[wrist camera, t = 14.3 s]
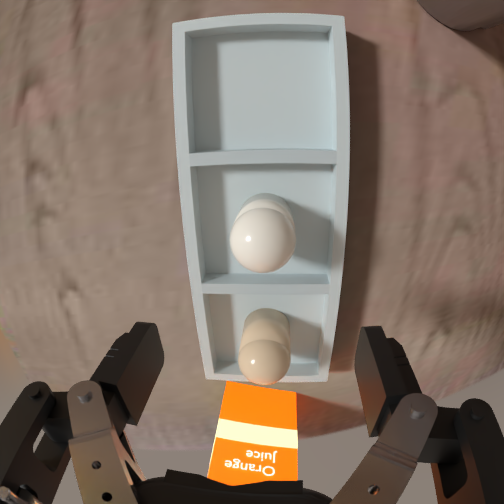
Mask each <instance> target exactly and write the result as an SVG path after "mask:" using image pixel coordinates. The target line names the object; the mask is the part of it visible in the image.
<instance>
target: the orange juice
mask: <svg viewBox="0 0 504 504" xmlns="http://www.w3.org/2000/svg"><path fill="white" fill-rule="evenodd" d="M297 449H298V438H297V414H296V392H289V391H282V390H275V389H269V388H263V387H257V386H251V385H245V384H240V383H235V382H230V381H227V383H226V388H225V393H224V397H223V402H222V407H221V411H220V416H219V421H218V426H217V431H216V436H215V440H214V445H213V450H212V455H211V460H210V466H209V471H208V476H207V478H210V479H212V480H215V481H218V482H221V483H224V484H227V485H232V486H234V485H243V484H249V483H256V482H262V481H268V480H273V481H297Z"/></svg>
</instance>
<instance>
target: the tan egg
mask: <svg viewBox="0 0 504 504" xmlns="http://www.w3.org/2000/svg"><path fill="white" fill-rule="evenodd" d="M290 363H291V347H290V324H289V321H288V319H287V317H286V316H285V315H284V314H283V313H281V312H280V311H278V310H275V309H271V308H261V309H257V310H255V311H253V312H251V313H250V314H249V315H248V316H247V317H246V319H245V321H244V325H243V331H242V337H241V343H240V349H239V354H238V364H239V368H240V370H241V372H242V374H243V375H244V376H245V377H246V378H247V379H248V380H249V381H251V382H253V383H255V384H259V385H269V384H273V383H276V382H278V381H279V380H281V379H282V378H283V377H284V376H285V375H286V373H287V372H288V370H289V367H290Z"/></svg>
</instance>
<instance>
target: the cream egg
mask: <svg viewBox="0 0 504 504" xmlns="http://www.w3.org/2000/svg"><path fill="white" fill-rule="evenodd" d="M230 247H231V251H232V253H233V255H234V257H235V259H236V260H237V261H238V262H239V263H240V264H241V265H242V266H243V267H244V268H246V269H248V270H250V271H253V272H257V273H269V272H273V271H276V270H278V269H280V268H282V267H283V266H284V265H285V264H286V263H287V262H288V261H289V260H290V259H291V257H292V255H293V253H294V250H295V247H296V232H295V226H294V220H293V215H292V211H291V208H290V207H289V205H288V204H287V202H286V201H285V200H284V199H282V198H281V197H279V196H277V195H275V194H271V193H259V194H256V195H253V196H251V197H250V198H248V199H247V200H246V201H245V202H244V203H243V205H242V206H241V208H240V211H239V213H238V215H237V217H236V219H235V222H234V224H233V226H232V229H231V232H230Z"/></svg>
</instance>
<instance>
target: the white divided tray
mask: <svg viewBox="0 0 504 504" xmlns="http://www.w3.org/2000/svg"><path fill="white" fill-rule="evenodd" d="M172 53H173V96H174V118H175V136H176V152H177V165H178V178H179V189H180V200H181V210H182V220H183V229H184V238H185V246H186V255H187V263H188V270H189V278H190V285H191V292H192V299H193V306H194V312H195V318H196V325H197V331H198V337H199V343H200V349H201V354H202V360H203V365H204V371H205V376H206V379H212V380H227V381H248V382H251V381H249V380H248V379H247V378H246V377H245V376H244V375H243V374H242V372H241V370H240V368H239V364H238V354H239V349H240V343H241V337H242V331H243V325H244V321H245V319H246V317H247V316H248V315H249V314H250V313H251V312H253V311H255V310H257V309H261V308H271V309H275V310H278V311H280V312H281V313H283V314H284V315H285V316H286V317H287V319H288V321H289V324H290V347H291V363H290V367H289V370H288V372H287V373H286V375H285V376H284V377H283V378H282V379H281V380H279V381H278V382H323V381H327V378H328V373H329V367H330V361H331V355H332V349H333V343H334V336H335V329H336V322H337V315H338V307H339V299H340V291H341V282H342V273H343V263H344V252H345V240H346V227H347V211H348V192H349V163H350V104H349V76H348V58H347V44H346V31H345V21H344V16H336V15H324V14H306V13H259V14H241V15H229V16H219V17H210V18H202V19H195V20H189V21H183V22H177V23H173V25H172ZM259 193H271V194H275V195H277V196H279V197H281V198H282V199H284V200H285V201H286V202H287V204H288V205H289V207H290V208H291V211H292V215H293V220H294V226H295V232H296V247H295V250H294V253H293V255H292V257H291V259H290V260H289V261H288V262H287V263H286V264H285V265H284V266H283V267H282V268H280V269H278V270H276V271H273V272H269V273H257V272H253V271H250V270H248V269H246V268H244V267H243V266H242V265H241V264H240V263H239V262H238V261H237V260H236V259H235V257H234V255H233V253H232V251H231V247H230V232H231V229H232V226H233V224H234V222H235V219H236V217H237V215H238V213H239V211H240V208H241V206H242V205H243V203H244V202H245V201H246V200H247V199H248V198H250V197H251V196H253V195H256V194H259Z"/></svg>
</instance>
